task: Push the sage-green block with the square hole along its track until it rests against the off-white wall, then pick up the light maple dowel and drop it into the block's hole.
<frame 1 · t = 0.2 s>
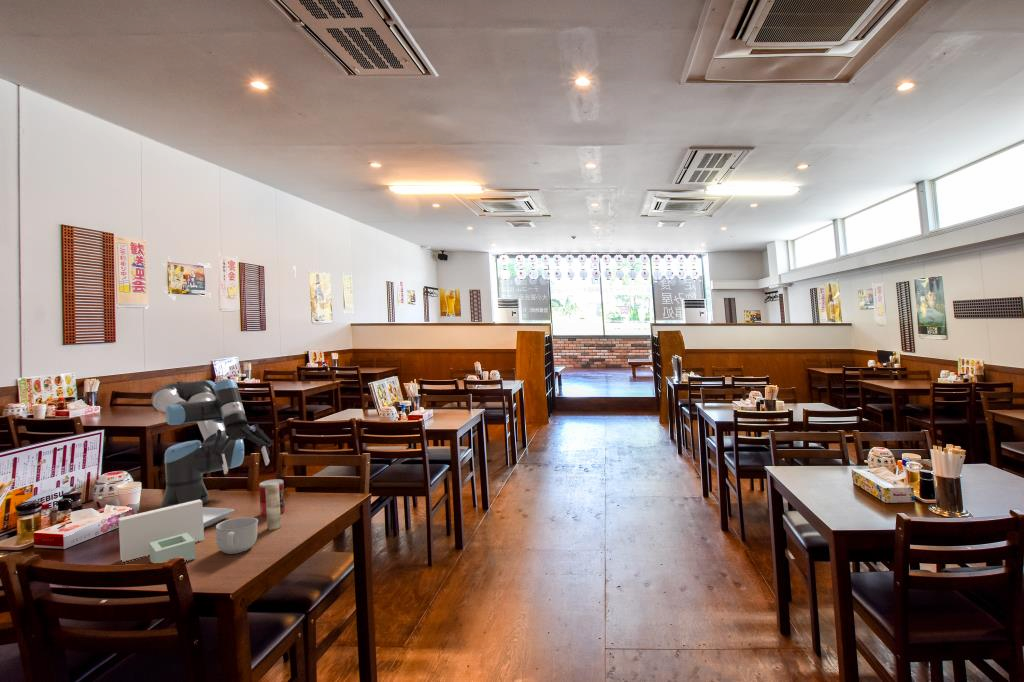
hand: (247, 467, 177), 16 cm above the table, tool tilted 35°, fingers open, 13 cm apart
salad plate: (185, 528, 165), on the table
holed block: (172, 550, 138), point 3 cm above the table, slide at 5.0 cm
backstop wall: (164, 549, 146), on the table
canned food: (272, 513, 174), on the table
dowel: (274, 527, 160), on the table
teacup: (236, 552, 143), on the table
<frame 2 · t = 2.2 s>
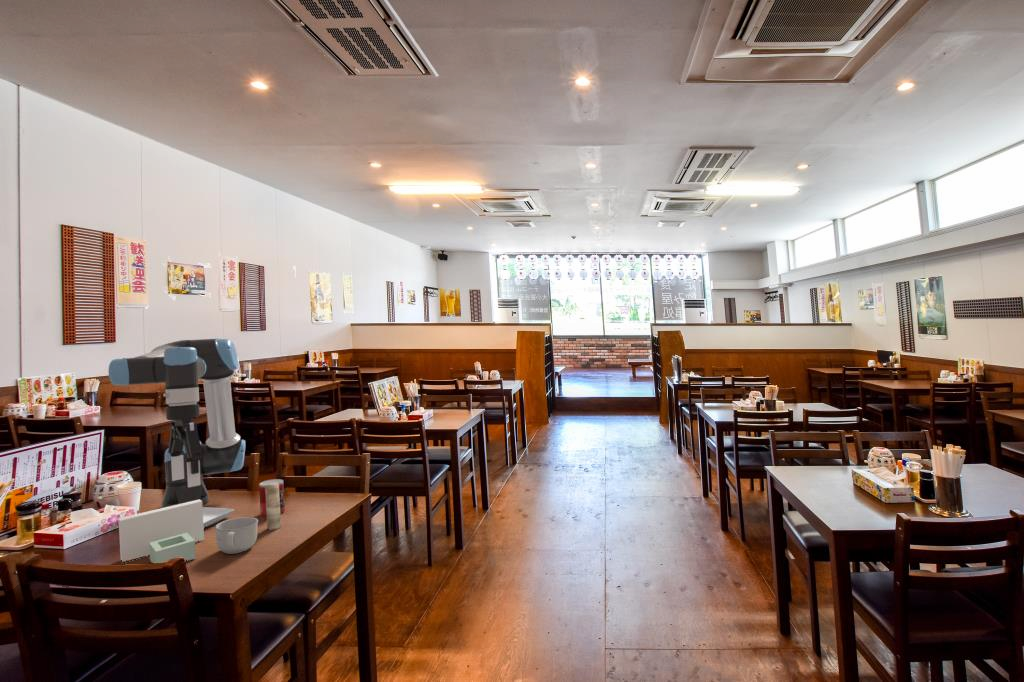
hand: (186, 482, 133), 23 cm above the table, tool pointing down, fingers open, 13 cm apart
nothing on the table moved.
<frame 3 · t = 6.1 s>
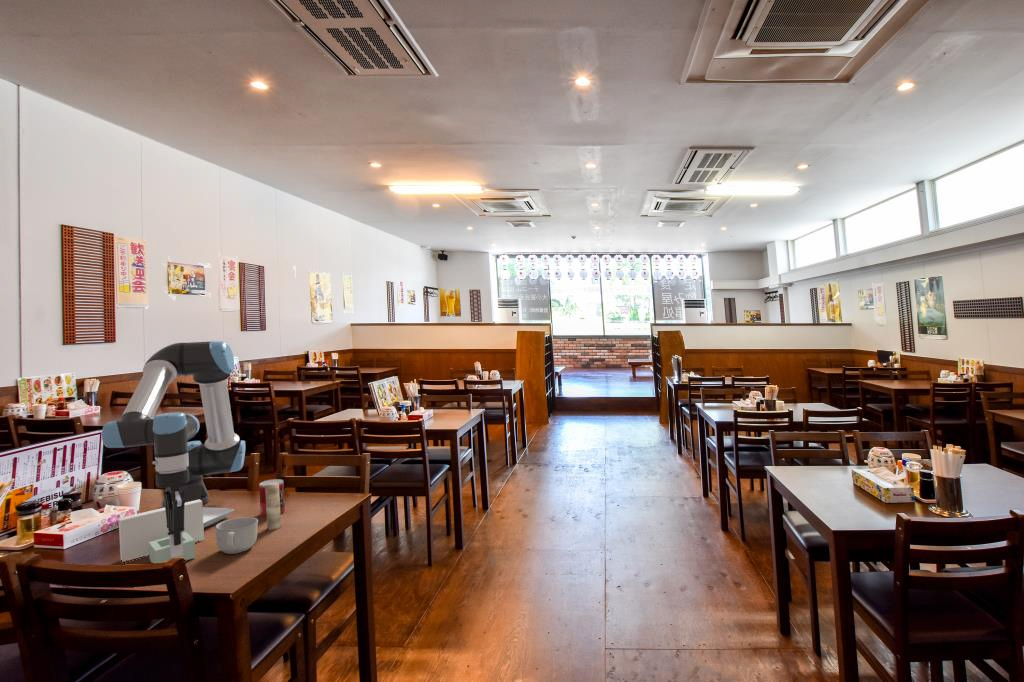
hand: (176, 555, 135), 3 cm above the table, tool pointing down, fingers closed
holed block: (171, 549, 139), point 3 cm above the table, slide at 4.4 cm, touching gripper
everything else where it was.
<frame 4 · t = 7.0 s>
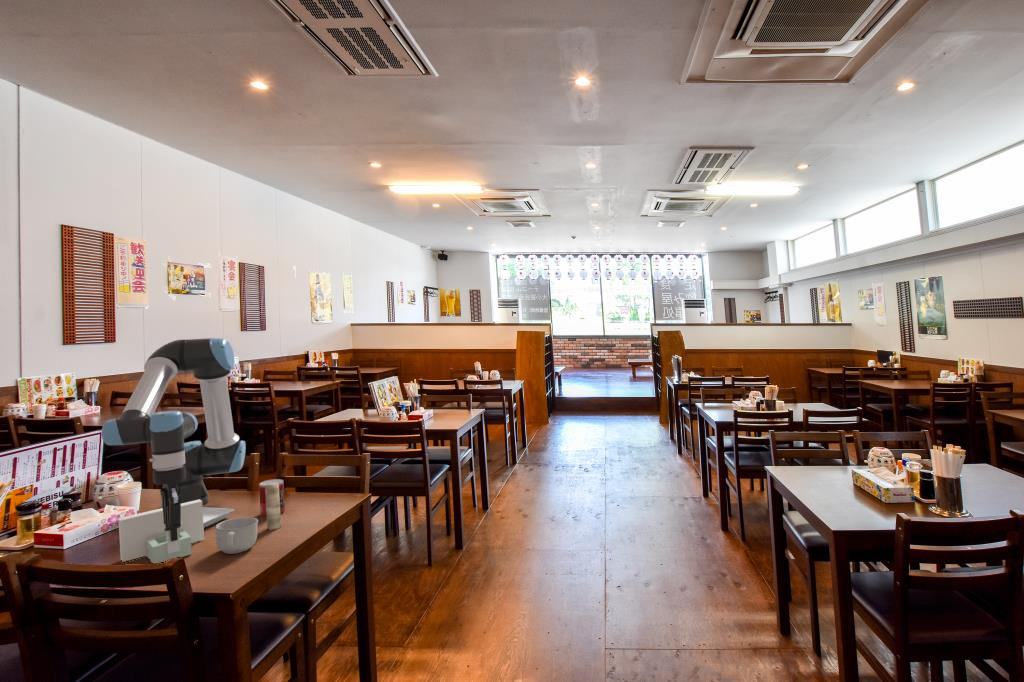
hand: (173, 551, 138), 3 cm above the table, tool pointing down, fingers closed
holed block: (169, 546, 141), point 3 cm above the table, slide at 0.8 cm, touching gripper
everything else where it was.
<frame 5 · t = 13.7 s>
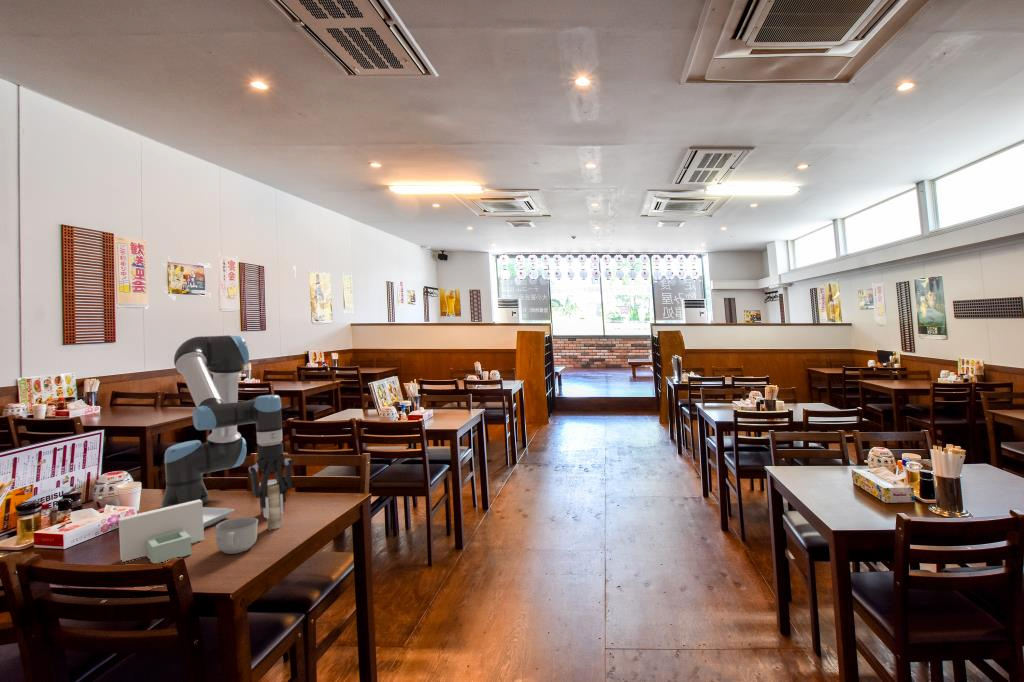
hand: (273, 515, 160), 4 cm above the table, tool pointing down, fingers closed on dowel, 4 cm apart
holed block: (168, 546, 141), point 3 cm above the table, slide at 0.7 cm
dowel: (274, 527, 160), on the table, touching gripper
everything else where it was.
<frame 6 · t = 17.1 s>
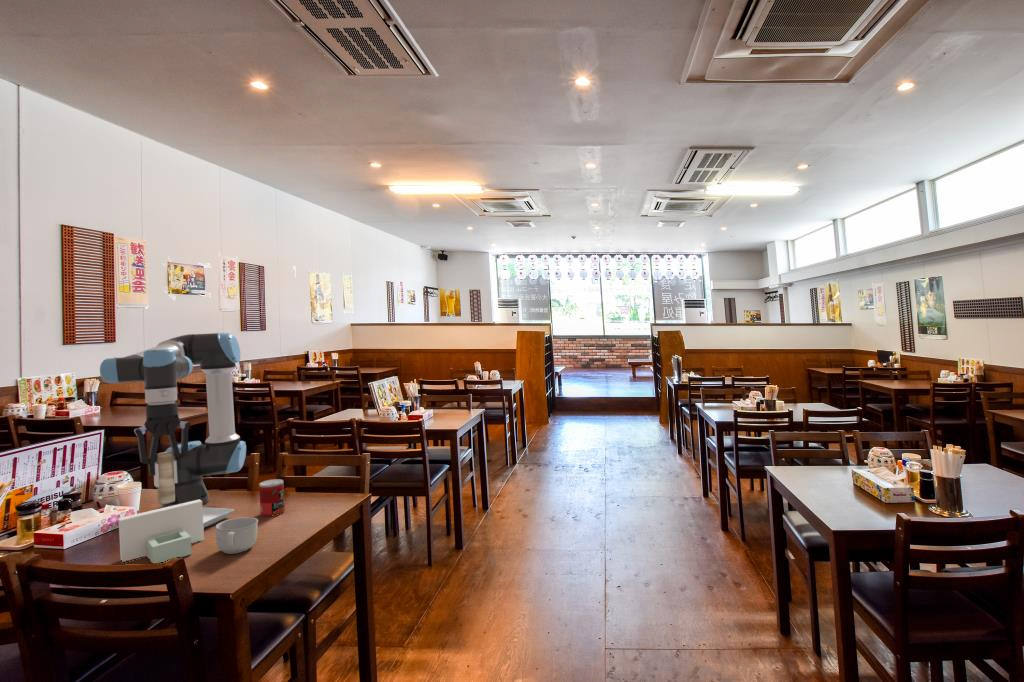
hand: (165, 484, 142), 21 cm above the table, tool pointing down, fingers closed on dowel, 4 cm apart
dowel: (166, 501, 142), point 15 cm above the table, touching gripper
everything else where it was.
when the fingers open (7 cm above the table, at t = 20.6 s): dowel drops 3 cm, resting in holed block.
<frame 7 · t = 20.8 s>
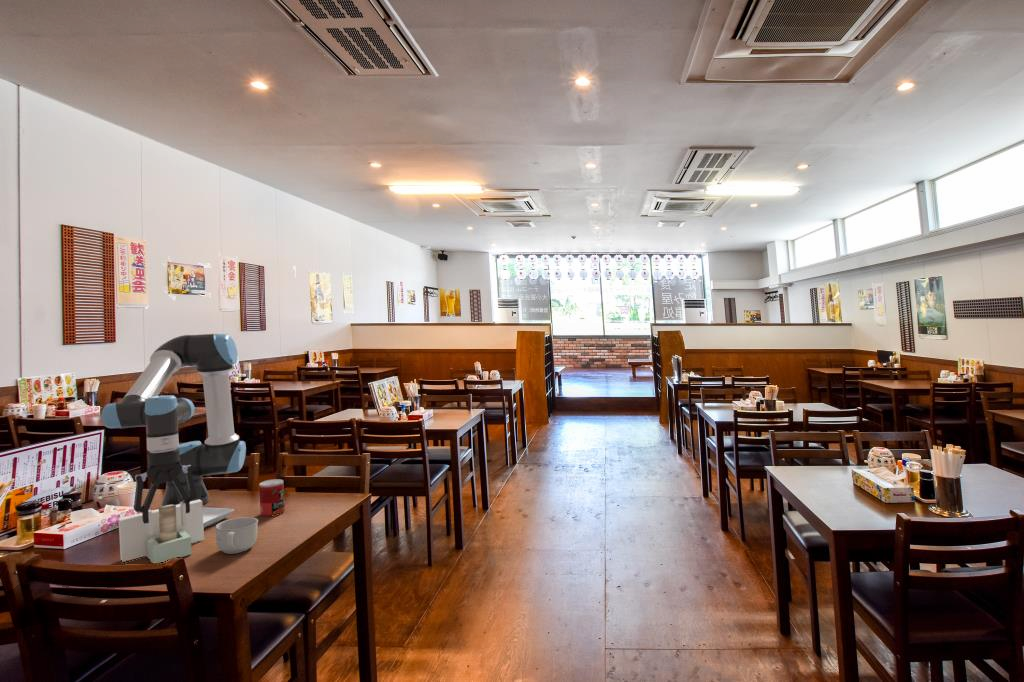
hand: (167, 529, 142), 8 cm above the table, tool pointing down, fingers open, 7 cm apart
dowel: (168, 555, 142), resting in holed block
everything else where it was.
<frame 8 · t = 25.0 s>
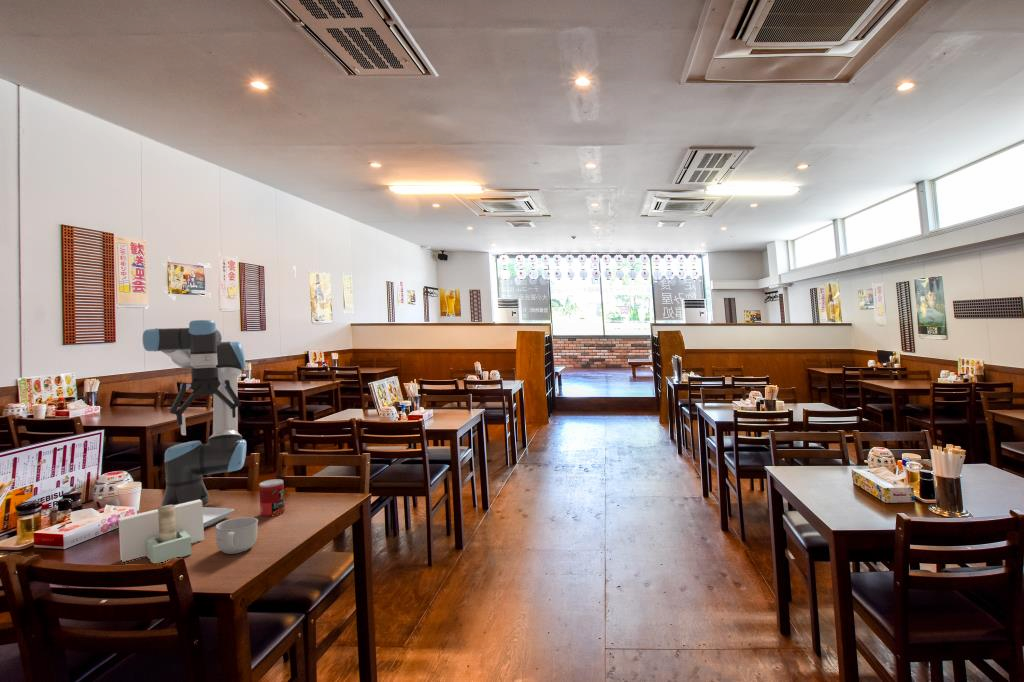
hand: (207, 431, 163), 32 cm above the table, tool pointing down, fingers open, 13 cm apart
nothing on the table moved.
at the end: holed block slide at 0.7 cm; dowel 0.0 cm from the target spot, resting in holed block; dowel tilted 0° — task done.
